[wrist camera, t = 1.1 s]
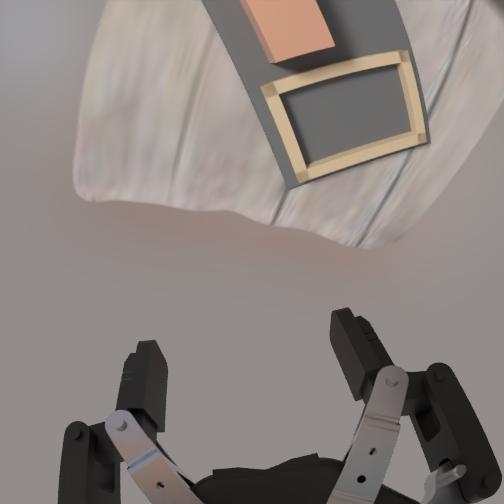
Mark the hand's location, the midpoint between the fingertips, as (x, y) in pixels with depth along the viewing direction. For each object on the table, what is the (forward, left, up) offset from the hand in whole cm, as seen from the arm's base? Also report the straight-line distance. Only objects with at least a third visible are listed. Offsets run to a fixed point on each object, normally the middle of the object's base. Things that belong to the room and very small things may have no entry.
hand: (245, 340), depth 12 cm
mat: (-8, +13, -20) cm, 25 cm away
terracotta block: (-14, +9, -20) cm, 26 cm away
